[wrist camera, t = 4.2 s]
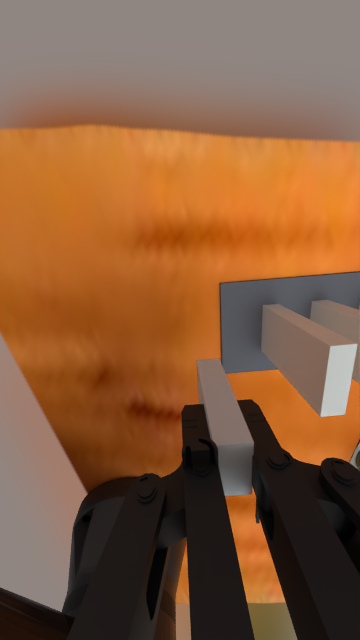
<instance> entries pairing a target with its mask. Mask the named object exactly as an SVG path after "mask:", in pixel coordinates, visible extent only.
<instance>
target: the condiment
mask: <svg viewBox="0 0 360 640" xmlns="http://www.w3.org/2000/svg"><path fill="white" fill-rule="evenodd" d="M350 464H352V465H353V466H355V467H356V468H357V469H359V470H360V443H359V444H358V447H357V449H356V450H355V452H354V454H353V457H352V458H351V461H350Z"/></svg>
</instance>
